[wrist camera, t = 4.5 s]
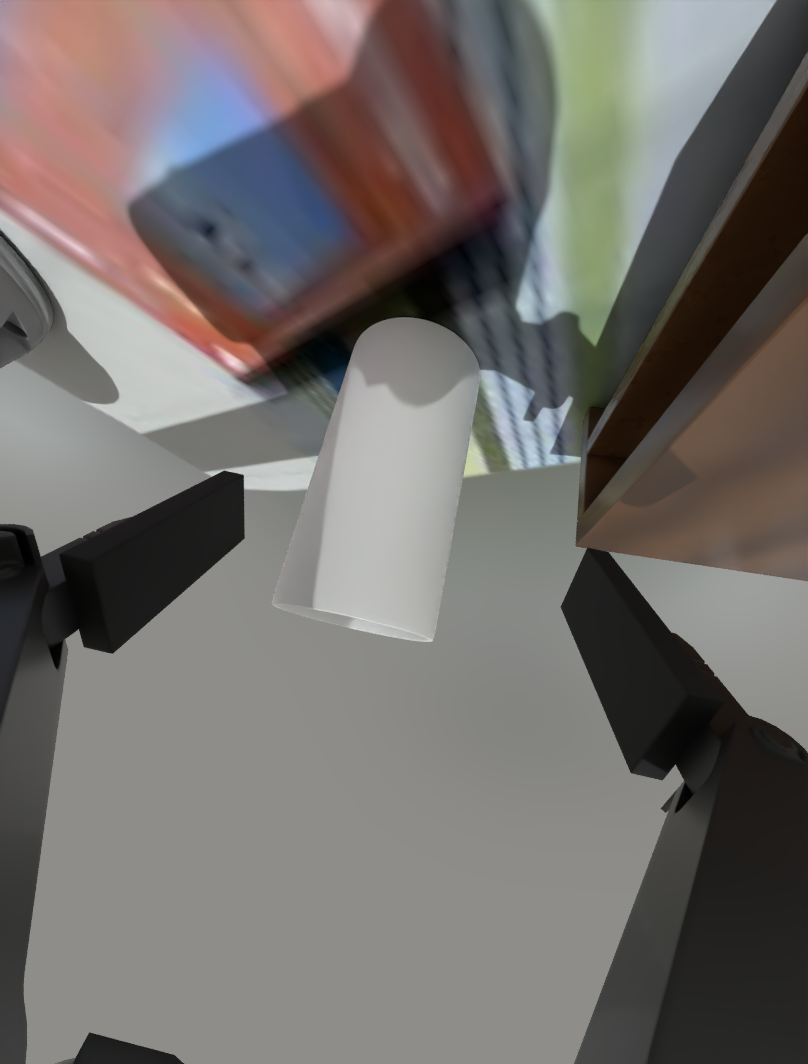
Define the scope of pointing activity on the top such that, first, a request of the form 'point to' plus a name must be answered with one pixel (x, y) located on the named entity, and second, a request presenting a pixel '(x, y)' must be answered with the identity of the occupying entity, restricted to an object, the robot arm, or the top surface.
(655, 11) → the top surface
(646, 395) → the small wooden box
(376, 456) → the cup
